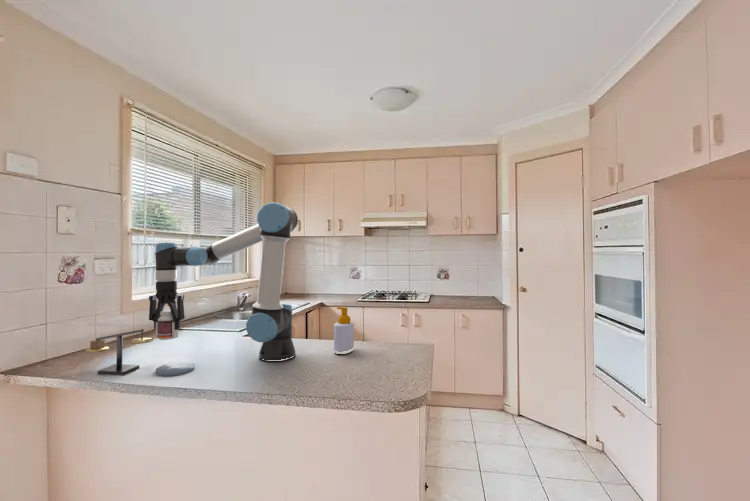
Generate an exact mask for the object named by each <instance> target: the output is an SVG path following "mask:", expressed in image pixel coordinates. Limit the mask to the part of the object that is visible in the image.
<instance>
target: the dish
mask: <svg viewBox="0 0 750 501" xmlns="http://www.w3.org/2000/svg"><path fill="white" fill-rule="evenodd" d="M194 370H195V364H194V363H192V362H187V361H184V362H183V361H180V362H172V363H171V362H170V363H168V364H167V363H166V364H163V365H160V366H158V367H156V368H155V375H156V376H158V377H176V376H181V375H186V374H188V373H191V372H193V371H194Z"/></svg>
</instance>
